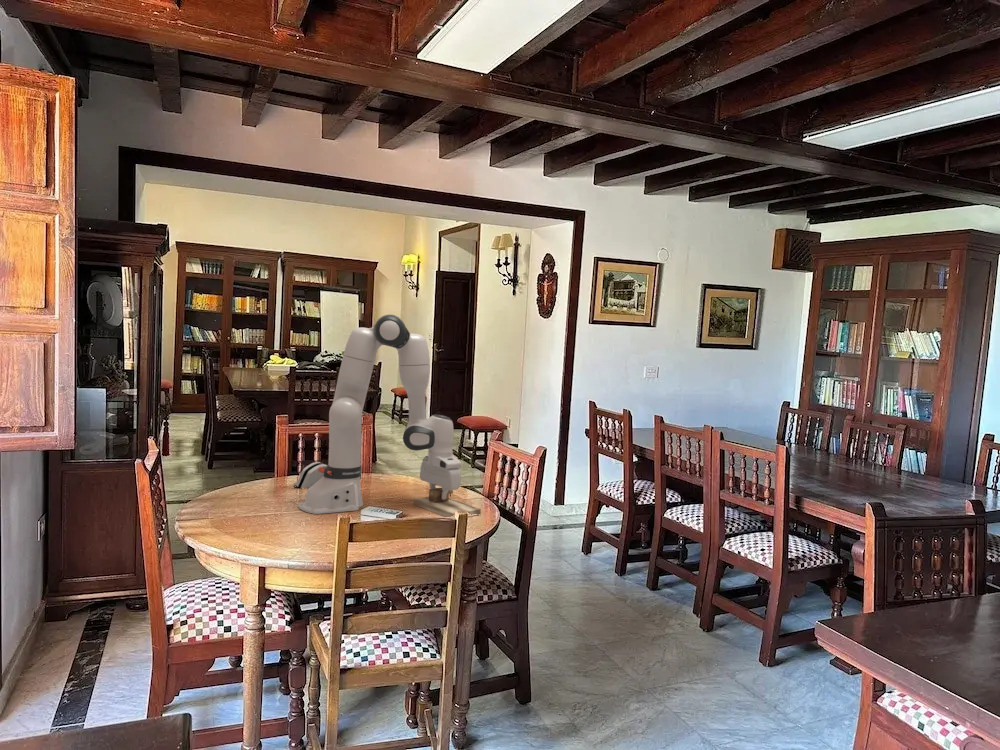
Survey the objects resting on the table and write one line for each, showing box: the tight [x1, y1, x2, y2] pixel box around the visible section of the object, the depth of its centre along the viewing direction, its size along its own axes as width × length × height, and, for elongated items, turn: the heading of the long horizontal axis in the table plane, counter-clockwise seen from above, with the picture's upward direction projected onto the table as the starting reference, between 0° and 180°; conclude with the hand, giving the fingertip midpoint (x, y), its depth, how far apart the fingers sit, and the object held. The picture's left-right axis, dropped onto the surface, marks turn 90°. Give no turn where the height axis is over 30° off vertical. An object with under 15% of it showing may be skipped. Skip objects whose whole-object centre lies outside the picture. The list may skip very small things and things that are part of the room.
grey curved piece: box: [292, 461, 328, 489], centre depth 270 cm, size 17×5×10 cm, turn 165°
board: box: [412, 496, 482, 518], centre depth 242 cm, size 12×24×2 cm, turn 42°
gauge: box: [428, 487, 454, 502], centre depth 247 cm, size 10×4×4 cm, turn 132°
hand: (438, 497), depth 246 cm, fingers closed on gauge, 4 cm apart
